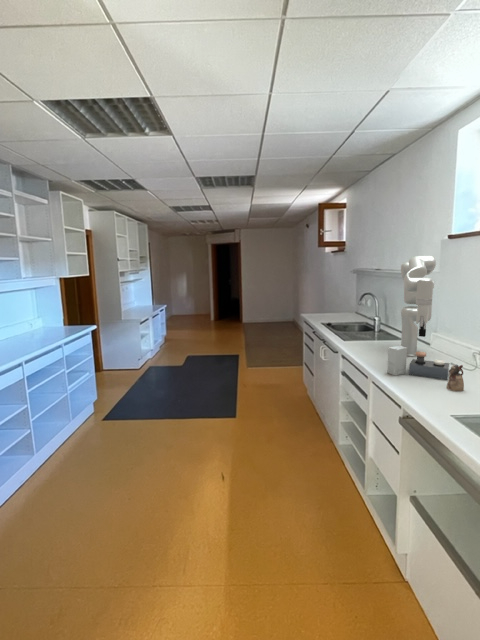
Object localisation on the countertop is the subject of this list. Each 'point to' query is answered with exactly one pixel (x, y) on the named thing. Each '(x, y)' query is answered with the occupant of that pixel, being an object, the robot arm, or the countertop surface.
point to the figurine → (455, 378)
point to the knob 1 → (420, 357)
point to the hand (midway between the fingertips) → (422, 336)
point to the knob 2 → (439, 362)
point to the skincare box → (397, 360)
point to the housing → (429, 370)
